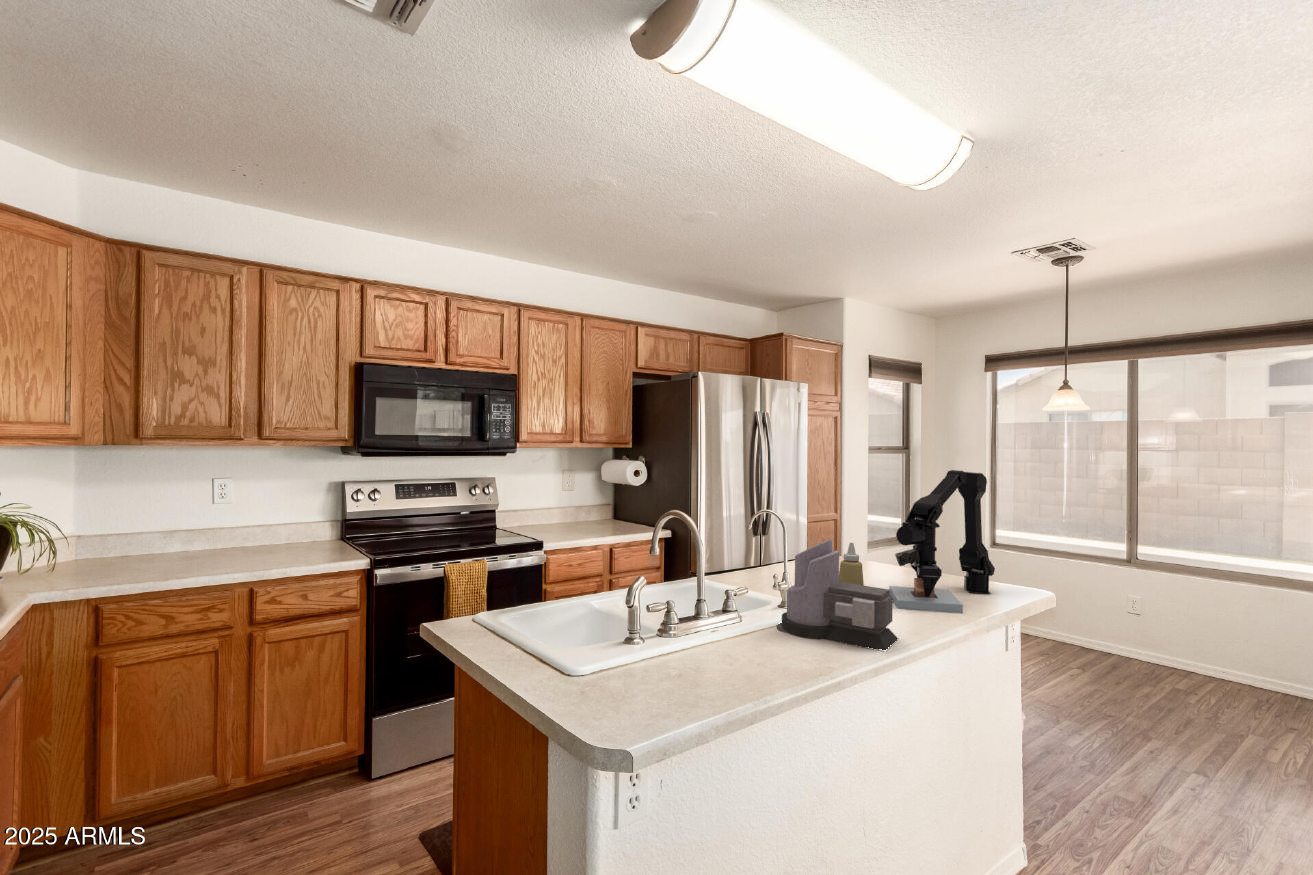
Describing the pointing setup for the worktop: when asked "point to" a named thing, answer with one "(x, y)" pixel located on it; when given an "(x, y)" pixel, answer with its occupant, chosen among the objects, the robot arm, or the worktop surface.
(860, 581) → the squeeze bottle
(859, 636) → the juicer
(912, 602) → the socket board
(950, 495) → the robot arm
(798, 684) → the worktop surface
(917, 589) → the brown block
